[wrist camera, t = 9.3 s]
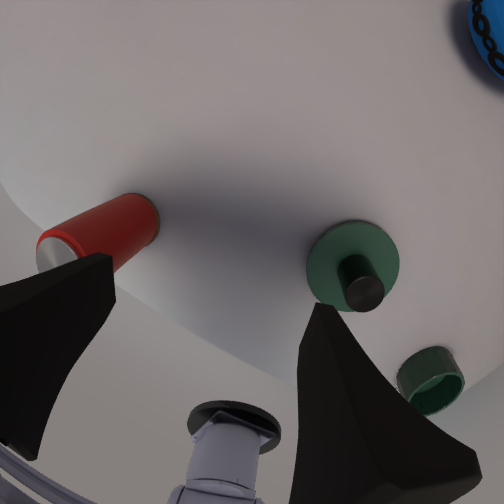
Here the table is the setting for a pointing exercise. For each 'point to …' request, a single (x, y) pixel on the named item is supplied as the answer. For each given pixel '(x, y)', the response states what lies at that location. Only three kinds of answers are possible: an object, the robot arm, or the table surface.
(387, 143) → the table surface
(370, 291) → the lid
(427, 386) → the green pot
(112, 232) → the can
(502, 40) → the ornament
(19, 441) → the robot arm
